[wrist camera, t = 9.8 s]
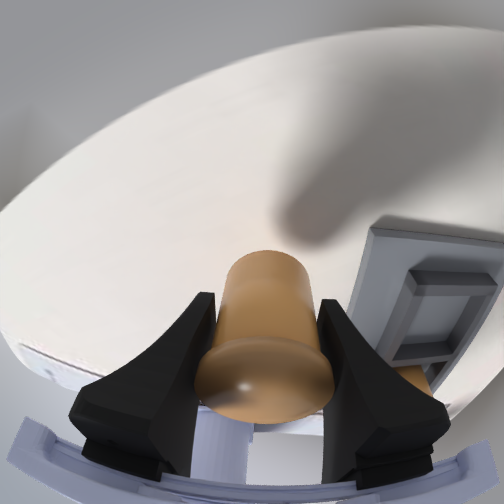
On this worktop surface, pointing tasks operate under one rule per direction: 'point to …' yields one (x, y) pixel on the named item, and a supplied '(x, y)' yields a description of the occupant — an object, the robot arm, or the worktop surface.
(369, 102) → the worktop surface
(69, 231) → the worktop surface
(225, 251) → the worktop surface
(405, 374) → the jaw peg
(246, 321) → the jaw peg
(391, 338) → the housing
